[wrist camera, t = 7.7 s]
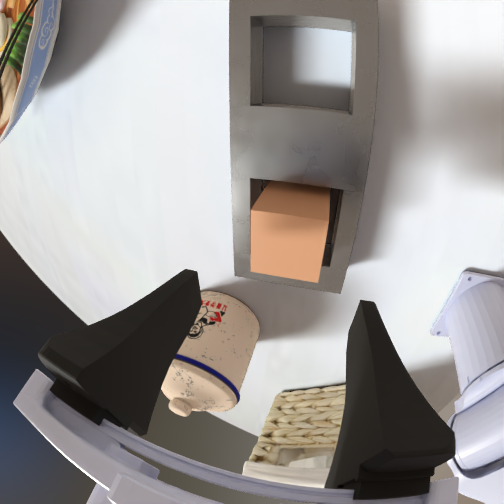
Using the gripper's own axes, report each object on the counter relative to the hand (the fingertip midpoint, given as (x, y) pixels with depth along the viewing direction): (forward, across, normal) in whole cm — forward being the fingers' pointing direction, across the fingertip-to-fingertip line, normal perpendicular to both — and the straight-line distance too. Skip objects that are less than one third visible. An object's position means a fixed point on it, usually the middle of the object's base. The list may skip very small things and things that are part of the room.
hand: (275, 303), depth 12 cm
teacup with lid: (+10, +8, +15) cm, 20 cm away
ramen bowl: (+10, +28, -19) cm, 36 cm away
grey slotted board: (+10, 0, -5) cm, 11 cm away
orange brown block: (+10, 0, 0) cm, 10 cm away
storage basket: (+10, -11, +34) cm, 37 cm away
